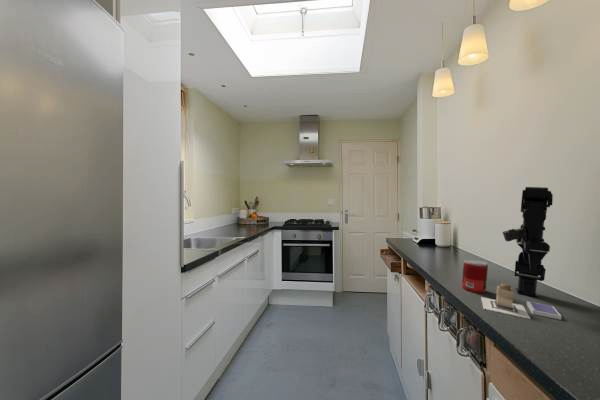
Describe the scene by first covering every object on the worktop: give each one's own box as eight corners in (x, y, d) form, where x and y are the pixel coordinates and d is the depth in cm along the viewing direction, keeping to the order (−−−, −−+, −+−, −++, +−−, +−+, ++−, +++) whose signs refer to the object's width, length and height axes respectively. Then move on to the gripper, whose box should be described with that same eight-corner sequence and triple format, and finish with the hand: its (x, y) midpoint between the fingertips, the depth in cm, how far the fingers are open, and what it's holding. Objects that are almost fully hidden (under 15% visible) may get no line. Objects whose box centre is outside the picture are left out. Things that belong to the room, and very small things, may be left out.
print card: (481, 297, 104) (481, 296, 104) (522, 306, 98) (522, 304, 98) (483, 309, 94) (483, 308, 94) (530, 319, 88) (530, 317, 88)
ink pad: (526, 304, 100) (526, 300, 100) (552, 309, 96) (553, 305, 96) (532, 313, 92) (532, 309, 92) (561, 319, 89) (561, 315, 88)
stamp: (494, 302, 99) (496, 282, 99) (510, 306, 97) (512, 284, 97) (496, 307, 95) (498, 285, 95) (512, 310, 93) (514, 288, 93)
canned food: (489, 294, 108) (491, 265, 108) (465, 291, 110) (468, 263, 110) (480, 287, 116) (482, 260, 115) (459, 285, 117) (461, 258, 117)
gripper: (502, 218, 114) (498, 258, 114) (509, 222, 97) (505, 268, 98) (538, 221, 108) (534, 263, 109) (552, 226, 92) (547, 274, 92)
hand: (529, 266), depth 102 cm, fingers open, 9 cm apart
